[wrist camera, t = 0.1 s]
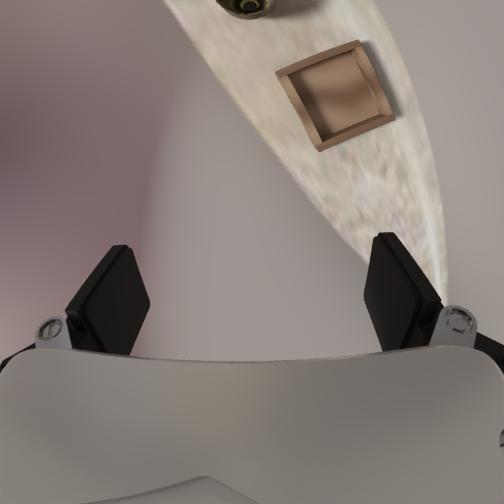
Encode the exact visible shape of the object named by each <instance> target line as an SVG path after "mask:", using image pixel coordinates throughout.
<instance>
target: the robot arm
mask: <svg viewBox="0 0 504 504" xmlns="http://www.w3.org/2000/svg"><path fill="white" fill-rule="evenodd" d="M364 301H365V304H366V307H367V309H368V312H369V314H370V317H371V320H372V323H373V325H374V328H375V331H376V334H377V337H378V339H379V342H380V345H381V348H382V351H383V352H376V353H367V354H358V355H350V356H339V357H328V358H314V359H298V360H275V361H200V360H178V359H161V358H148V357H137V356H130V353H131V351H132V348H133V346H134V343H135V341H136V338H137V336H138V334H139V331H140V329H141V327H142V324H143V322H144V320H145V317H146V315H147V312H148V310H149V308H150V300H149V297H148V295H147V292H146V289H145V286H144V283H143V281H142V277H141V275H140V272H139V269H138V266H137V262H136V260H135V256H134V253H133V250H132V249H131V248H129V247H128V246H127V245H115V246H112V247H111V249H110V250H109V251H108V252H107V254H106V255H105V256H104V258H103V259H102V260H101V261H100V263H99V264H98V265H97V266H96V268H95V269H94V270H93V272H92V273H91V274H90V276H89V277H88V278H87V280H86V281H85V282H84V284H83V285H82V286H81V288H80V289H79V290H78V292H77V293H76V295H75V296H74V298H73V299H72V300H71V302H70V303H69V305H68V306H67V308H66V309H65V312H66V314H67V316H68V317H67V319H66V320H65V319H64V318H63V317H62V316H53V317H51V318H48V319H46V320H45V321H44V322H43V323H41V324H40V326H39V327H38V328H37V330H36V333H35V343H34V344H32V345H30V346H28V347H26V348H24V349H23V350H21V351H19V352H17V353H16V354H14V355H12V356H10V357H8V358H6V359H5V360H3V361H2V363H1V365H0V504H504V345H503V344H500V343H498V342H496V341H494V340H492V339H490V338H488V337H486V336H484V335H482V334H480V333H478V332H477V322H476V319H475V317H474V316H473V315H472V313H471V312H469V311H468V310H467V309H465V308H463V307H460V306H456V305H450V306H446V307H444V306H443V305H442V303H441V298H440V297H439V295H438V294H437V292H436V291H435V289H434V288H433V286H432V285H431V283H430V282H429V280H428V279H427V277H426V276H425V274H424V273H423V271H422V270H421V269H420V267H419V266H418V264H417V263H416V261H415V260H414V259H413V257H412V256H411V255H410V253H409V252H408V250H407V249H406V248H405V246H404V245H403V244H402V242H401V241H400V240H399V239H398V237H397V236H396V235H395V233H393V232H383V233H379V234H378V236H376V237H374V239H373V244H372V250H371V257H370V263H369V268H368V274H367V280H366V284H365V290H364Z"/></svg>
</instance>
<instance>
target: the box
mask: <svg viewBox="0 0 504 504" xmlns="http://www.w3.org/2000/svg"><path fill="white" fill-rule="evenodd" d="M275 75H276V76H277V78H278V80H279V81H280V83H281V85H282V87H283V88H284V90H285V92H286V94H287V95H288V97H289V99H290V101H291V103H292V104H293V106H294V108H295V110H296V112H297V114H298V116H299V117H300V119H301V121H302V123H303V125H304V127H305V129H306V131H307V133H308V135H309V137H310V139H311V141H312V143H313V145H314V147H315V149H316V150H317V151H318V152H321V151H323V150H325V149H328V148H330V147H332V146H334V145H337V144H339V143H341V142H343V141H346V140H348V139H350V138H353V137H355V136H357V135H360V134H362V133H364V132H367V131H369V130H372V129H374V128H376V127H379V126H381V125H384V124H386V123H389V122H391V121H394V120H395V117H394V115H393V112H392V110H391V107H390V105H389V102H388V100H387V98H386V95H385V93H384V91H383V88H382V86H381V84H380V82H379V79H378V77H377V75H376V73H375V71H374V69H373V67H372V65H371V63H370V61H369V59H368V57H367V55H366V53H365V51H364V49H363V47H362V45H361V44H360V42H359V40H355V41H352V42H349V43H346V44H343V45H340V46H337V47H335V48H332V49H329V50H326V51H324V52H321V53H319V54H316V55H313V56H311V57H308V58H306V59H304V60H301V61H299V62H296V63H294V64H292V65H289V66H287V67H285V68H283V69H280V70H278V71H276V72H275Z"/></svg>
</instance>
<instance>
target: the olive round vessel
mask: <svg viewBox="0 0 504 504" xmlns="http://www.w3.org/2000/svg"><path fill="white" fill-rule="evenodd" d="M277 1H278V0H216V2H217V3H218V4H219V5H220V6H221V7H222V8H223V9H224V10H226V11H227V12H228V13H229V14H231V15H232V16H234V17H237V18H240V19H246V20H252V19H257V18H260V17H263V16H264V15H266V14H268V13H269V12H270V11H271V10H272V9H273V7H274V6H275V4H276V2H277ZM247 2H253V3H255V4H256V9H255V10H253V11H246V10H245V9H244V5H245V3H247Z"/></svg>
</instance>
